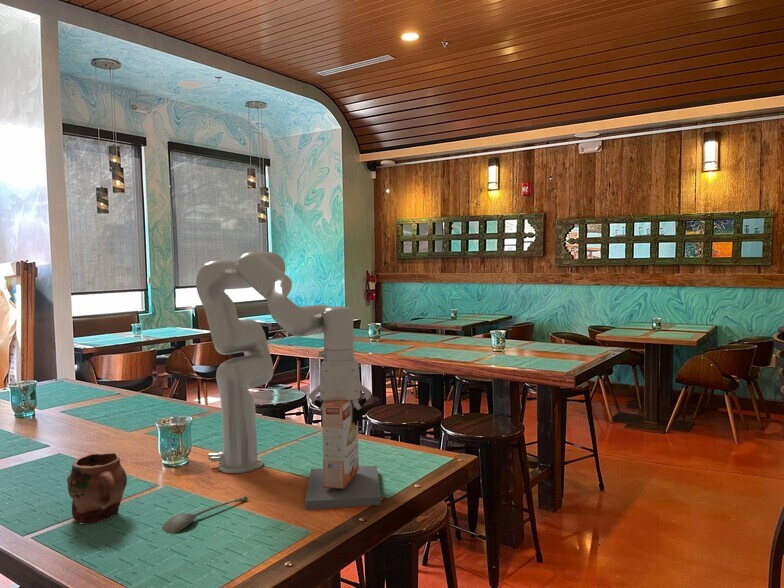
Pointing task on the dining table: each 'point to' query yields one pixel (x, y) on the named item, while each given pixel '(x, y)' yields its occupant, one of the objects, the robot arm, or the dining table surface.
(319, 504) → the serving board
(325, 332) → the robot arm
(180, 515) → the soupspoon
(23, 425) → the dining table surface
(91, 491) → the decorative planter
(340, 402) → the cracker box
